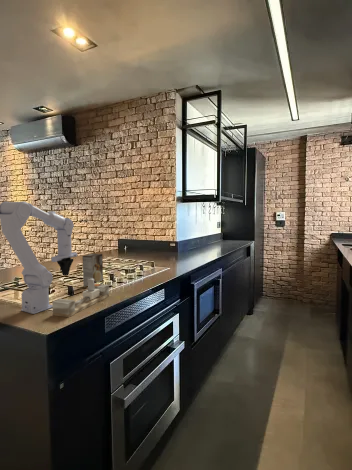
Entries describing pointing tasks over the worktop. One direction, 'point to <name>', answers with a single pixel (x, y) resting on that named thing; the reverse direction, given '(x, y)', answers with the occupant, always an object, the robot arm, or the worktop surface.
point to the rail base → (78, 303)
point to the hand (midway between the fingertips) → (65, 275)
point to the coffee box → (92, 268)
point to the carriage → (91, 290)
